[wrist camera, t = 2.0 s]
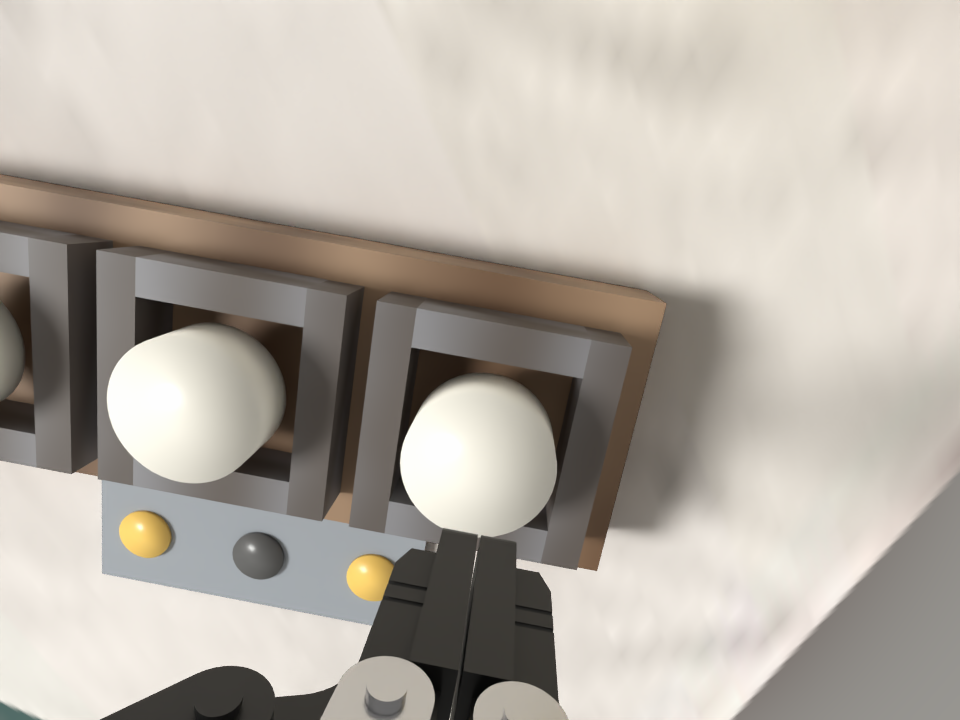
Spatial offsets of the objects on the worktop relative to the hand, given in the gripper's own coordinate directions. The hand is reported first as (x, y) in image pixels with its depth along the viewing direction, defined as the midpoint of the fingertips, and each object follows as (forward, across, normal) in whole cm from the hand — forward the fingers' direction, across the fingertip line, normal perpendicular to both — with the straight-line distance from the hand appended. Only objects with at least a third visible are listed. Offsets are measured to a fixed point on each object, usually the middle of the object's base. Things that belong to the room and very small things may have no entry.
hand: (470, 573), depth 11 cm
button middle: (+7, +9, 0) cm, 11 cm away
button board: (+12, +9, 0) cm, 14 cm away
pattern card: (+12, +9, +9) cm, 17 cm away
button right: (+7, 0, 0) cm, 7 cm away
